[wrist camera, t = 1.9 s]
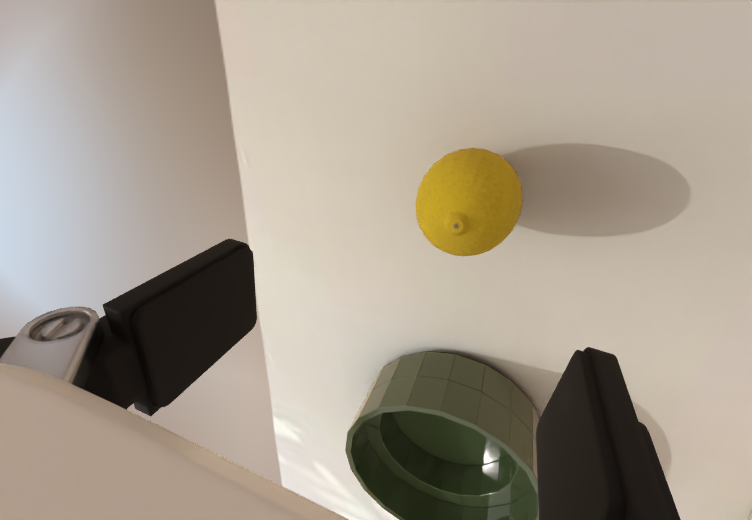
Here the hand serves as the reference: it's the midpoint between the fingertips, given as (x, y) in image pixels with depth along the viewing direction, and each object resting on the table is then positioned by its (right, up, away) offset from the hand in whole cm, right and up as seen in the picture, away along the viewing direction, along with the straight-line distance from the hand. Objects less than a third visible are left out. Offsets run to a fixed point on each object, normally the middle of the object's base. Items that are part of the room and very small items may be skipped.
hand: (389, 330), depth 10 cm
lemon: (+6, +7, +13) cm, 16 cm away
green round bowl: (+7, -12, +22) cm, 26 cm away
